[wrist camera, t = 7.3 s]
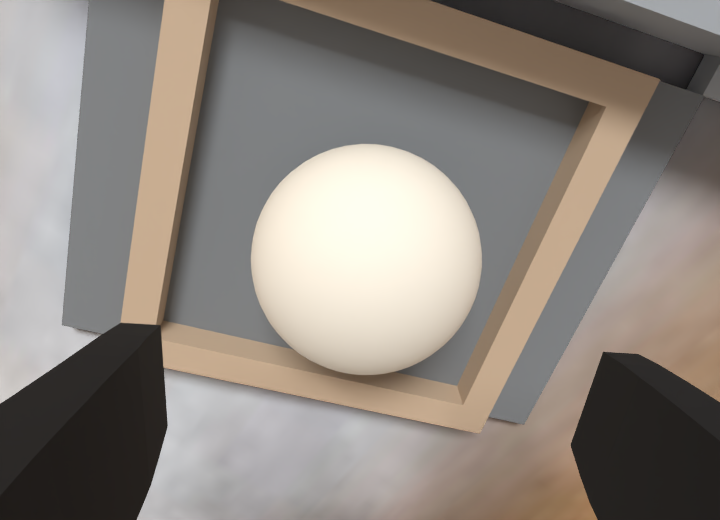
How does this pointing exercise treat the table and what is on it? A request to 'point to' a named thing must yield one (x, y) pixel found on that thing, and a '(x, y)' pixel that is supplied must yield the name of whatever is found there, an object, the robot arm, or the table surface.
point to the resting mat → (341, 128)
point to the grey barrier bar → (671, 30)
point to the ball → (366, 259)
